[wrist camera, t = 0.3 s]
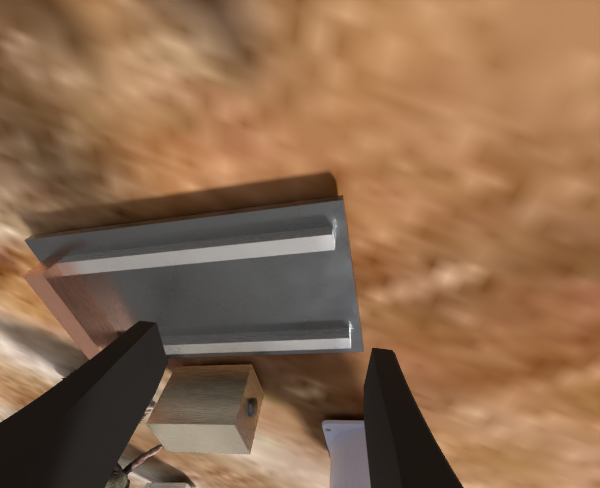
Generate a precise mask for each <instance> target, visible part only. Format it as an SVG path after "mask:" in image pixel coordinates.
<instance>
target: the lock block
mask: <svg viewBox="0 0 600 488" xmlns="http://www.w3.org/2000/svg"><path fill="white" fill-rule="evenodd" d="M263 396H264V392H263V390H262V388H261V385H260V383H259V380H258V378H257V375H256V373H255V371H254V368H253V366H252V364H247V365H207V366H176V367H175V369H174V371H173V373H172V375H171V377H170V379H169V381H168V382H167V384H166V386H165V388H164V390H163V392H162V394H161V396H160V398H159V400H158V402H157V404H156V406H155V408H154V410H153V412H152V413H151V415H150V417H149V419H148V421H147V423H146V424H147V425H148V427H149V428H150V429H151V430H152V432H153V433H154V434H155V436H156V437H157V438H158V439H159V441H160V442H161V443H162V445H163V446H164V447H165V448H166V450H167V451H171V452H200V453H228V454H250V452H251V448H252V443H253V439H254V435H255V430H256V426H257V422H258V417H259V413H260V409H261V405H262V400H263Z"/></svg>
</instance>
